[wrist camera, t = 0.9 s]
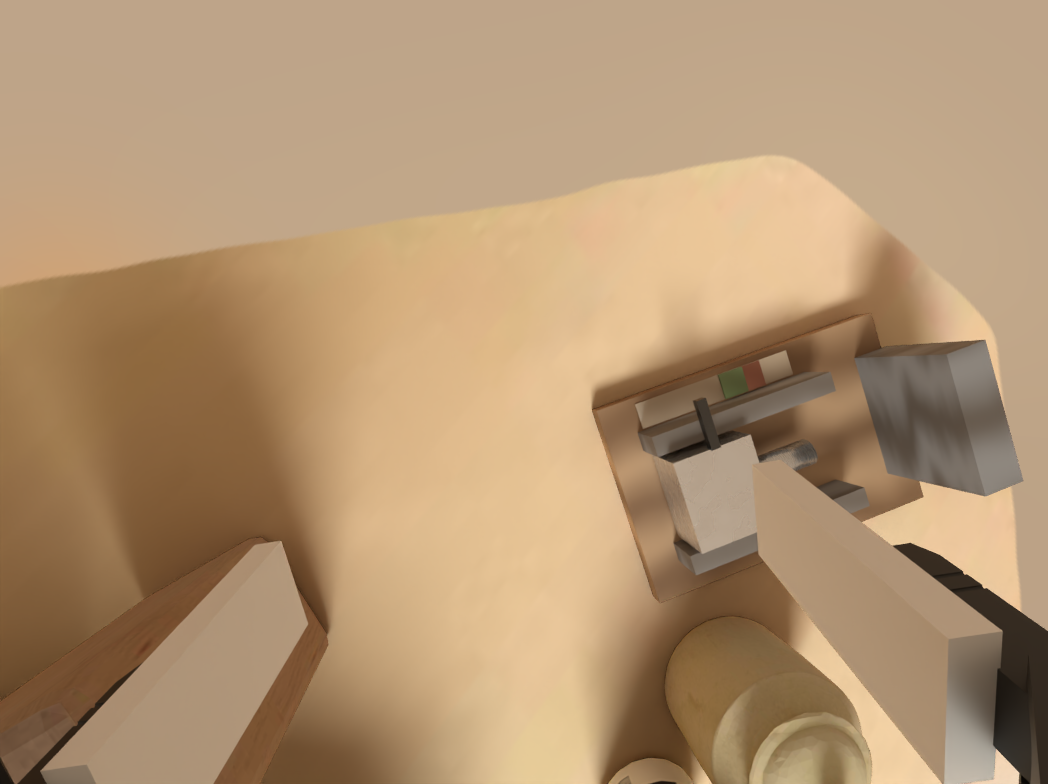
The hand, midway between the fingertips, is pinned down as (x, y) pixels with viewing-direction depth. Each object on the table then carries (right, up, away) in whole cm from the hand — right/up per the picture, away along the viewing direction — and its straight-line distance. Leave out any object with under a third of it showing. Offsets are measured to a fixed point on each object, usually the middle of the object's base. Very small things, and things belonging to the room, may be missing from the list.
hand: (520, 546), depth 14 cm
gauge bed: (+19, -1, +28) cm, 34 cm away
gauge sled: (+16, 0, +26) cm, 30 cm away
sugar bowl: (+18, -21, +29) cm, 40 cm away
